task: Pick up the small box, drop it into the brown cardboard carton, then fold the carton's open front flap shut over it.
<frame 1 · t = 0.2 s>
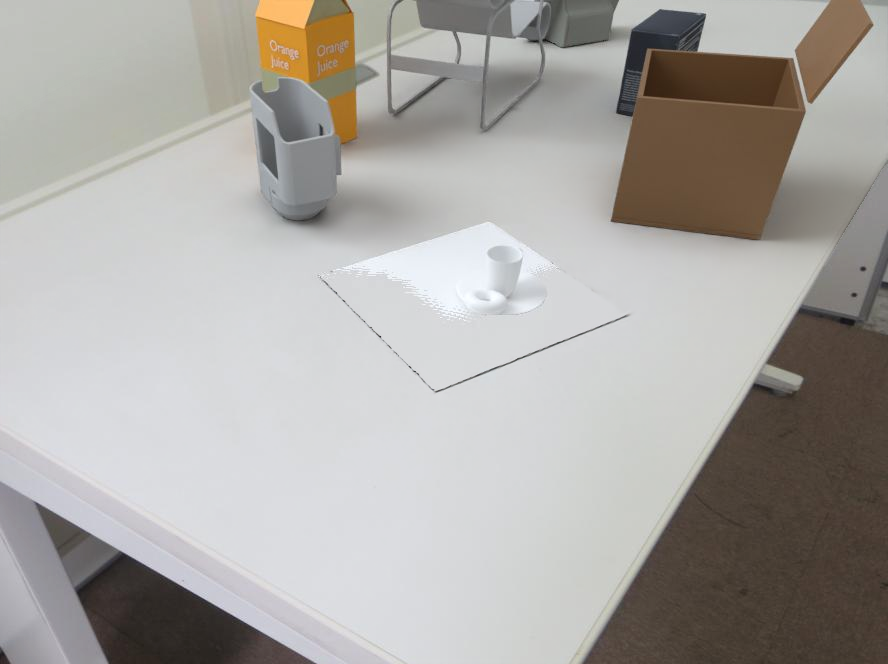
orange juice: (312, 138, 97), on the table
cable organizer: (298, 211, 82), on the table
small box: (650, 106, 101), on the table
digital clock: (571, 38, 125), on the table
chair: (469, 98, 106), on the table
carton: (685, 197, 81), on the table
flap: (829, 38, 68), point 16 cm above the table, hinge at 110.0°
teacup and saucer: (466, 295, 69), on the table
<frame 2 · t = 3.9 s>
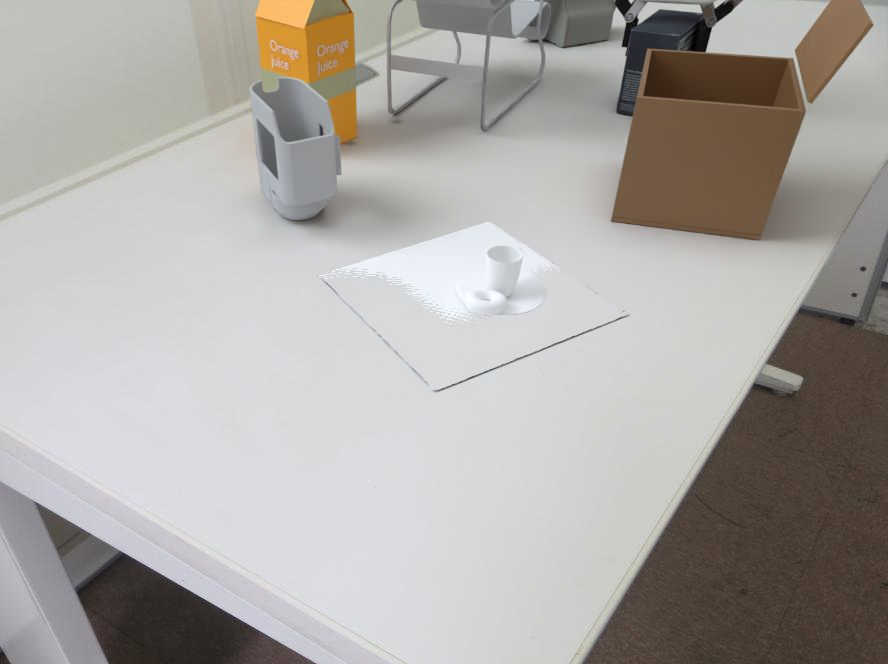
hand: (661, 54, 97), 6 cm above the table, tool pointing down, fingers closed on small box, 7 cm apart
small box: (650, 106, 101), on the table, touching gripper
everything else where it was.
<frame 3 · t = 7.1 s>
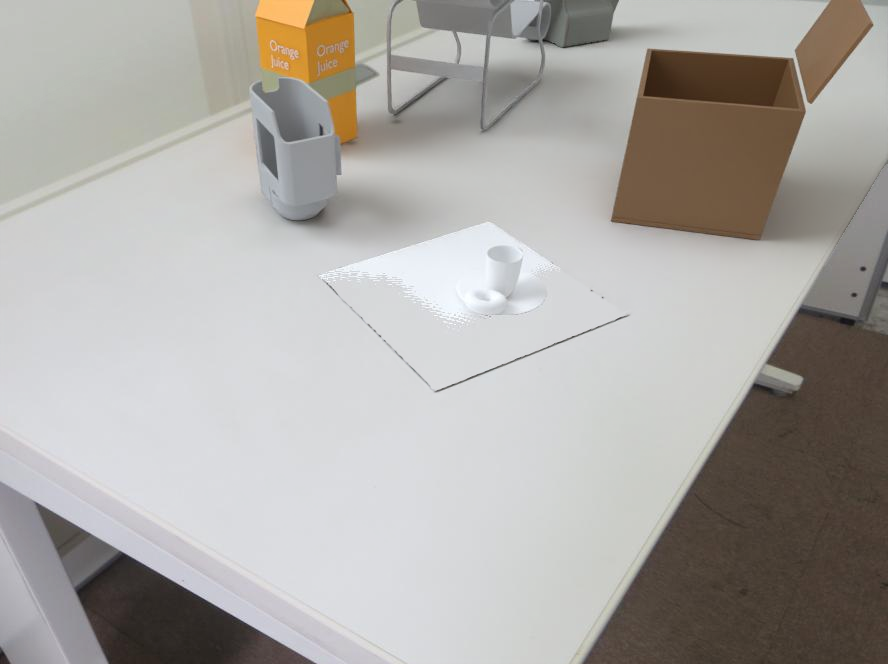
when the fingers open (19 cm above the table, at t = 10.5 s): small box drops 12 cm, resting on carton.
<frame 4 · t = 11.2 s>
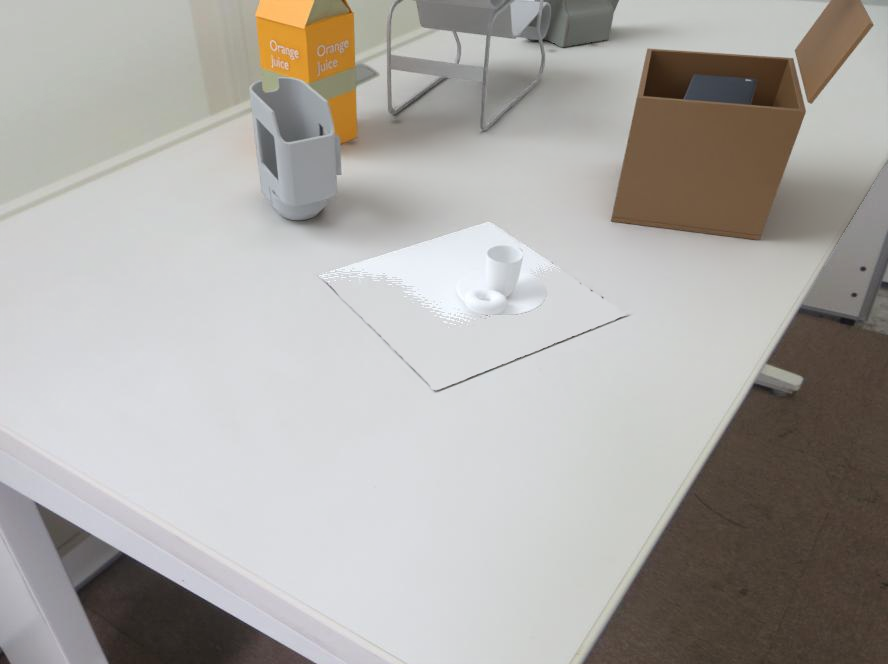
small box: (691, 193, 81), resting on carton
everything else where it was.
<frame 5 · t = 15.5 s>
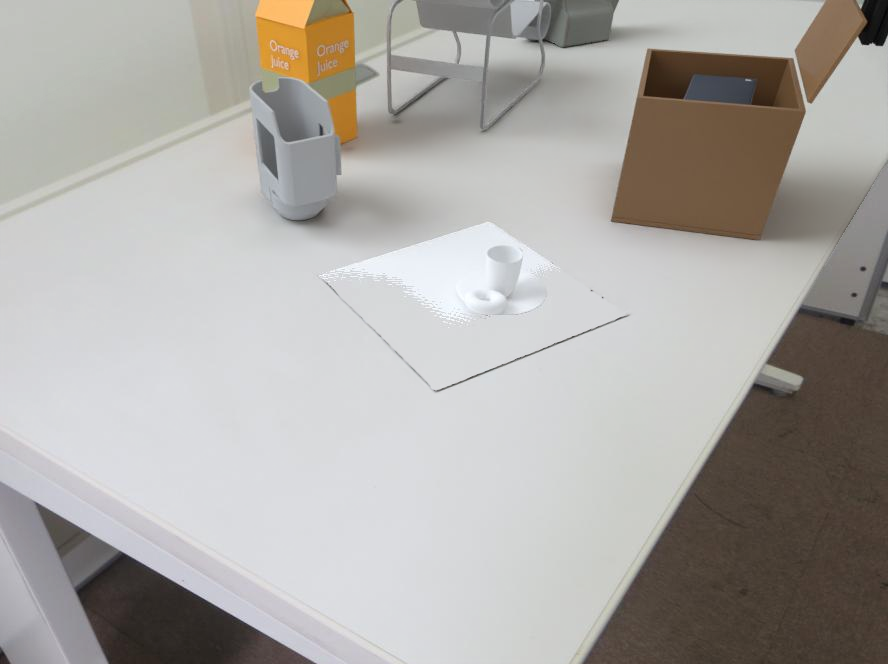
hand: (870, 40, 67), 16 cm above the table, tool pointing down, fingers closed
flap: (826, 37, 68), point 16 cm above the table, hinge at 105.4°
everything else where it was.
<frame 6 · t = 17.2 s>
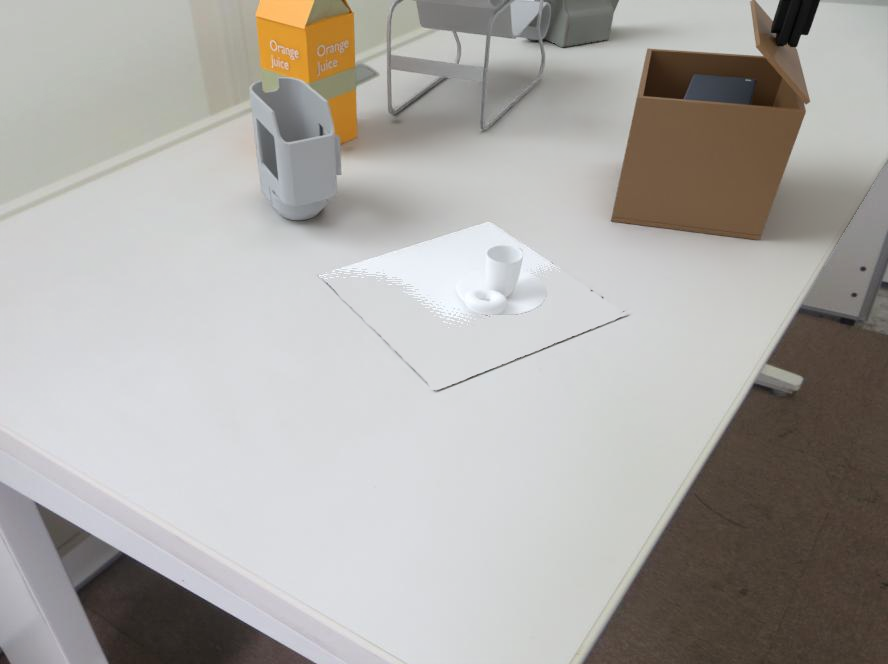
hand: (785, 42, 69), 16 cm above the table, tool pointing down, fingers closed
flap: (778, 48, 70), point 15 cm above the table, hinge at 39.6°, touching gripper
everything else where it was.
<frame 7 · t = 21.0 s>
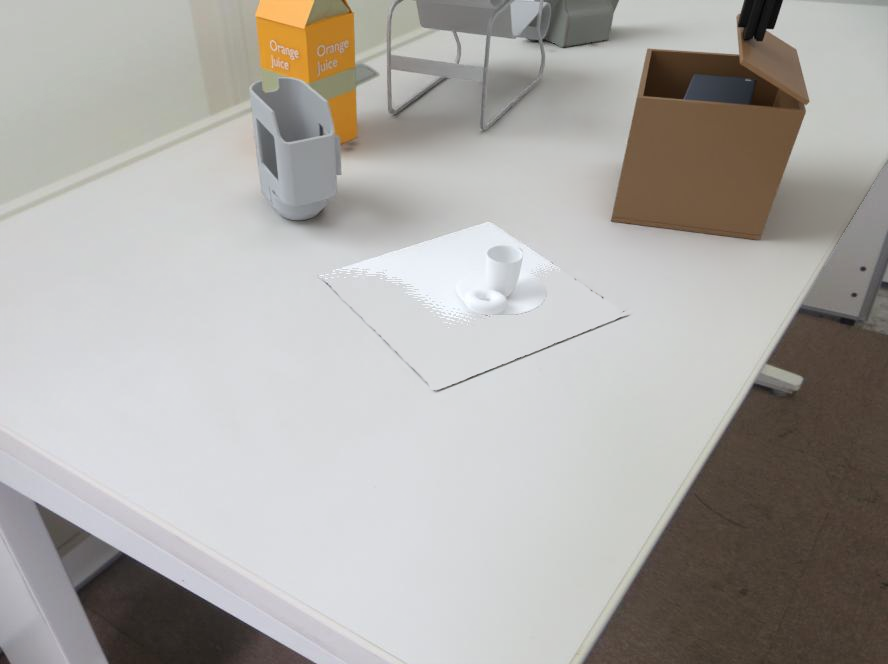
hand: (752, 36, 70), 16 cm above the table, tool pointing down, fingers closed
flap: (770, 56, 70), point 15 cm above the table, hinge at 25.9°, touching gripper
everything else where it was.
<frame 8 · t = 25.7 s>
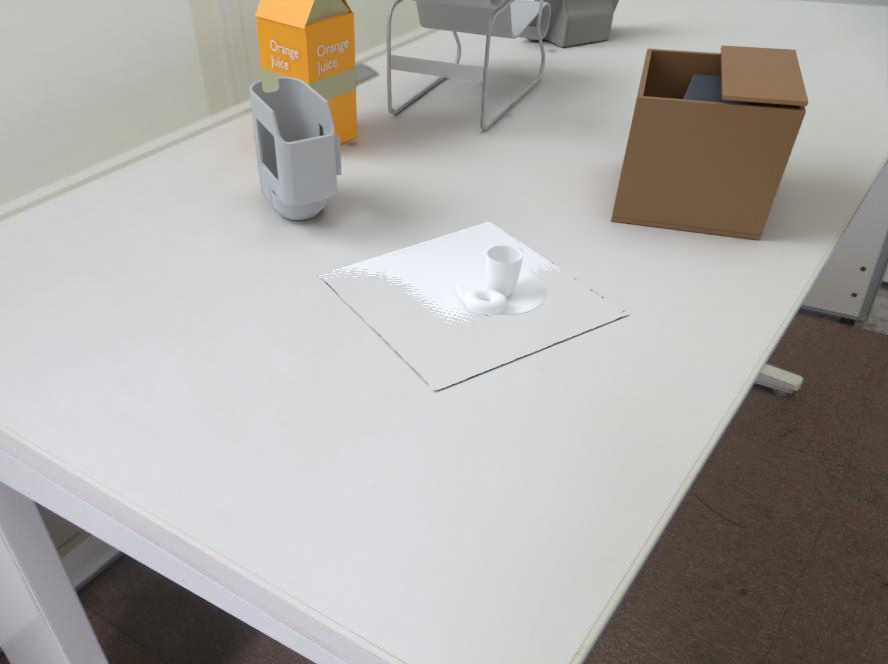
flap: (760, 73, 71), point 13 cm above the table, hinge at -0.3°
everything else where it was.
at the end: small box inside the target area in the carton (0.8 cm from its centre), point 0.3 cm above the carton's base; flap at +0° (first picture: +110°); the gripper is holding nothing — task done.
